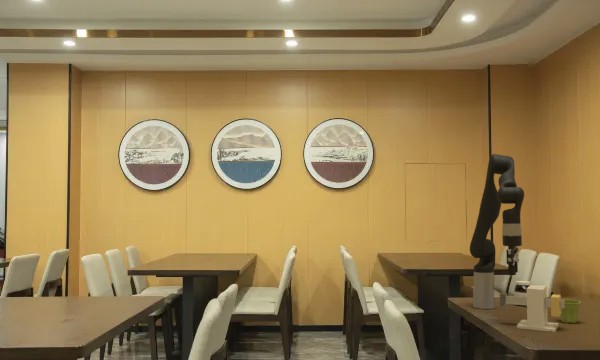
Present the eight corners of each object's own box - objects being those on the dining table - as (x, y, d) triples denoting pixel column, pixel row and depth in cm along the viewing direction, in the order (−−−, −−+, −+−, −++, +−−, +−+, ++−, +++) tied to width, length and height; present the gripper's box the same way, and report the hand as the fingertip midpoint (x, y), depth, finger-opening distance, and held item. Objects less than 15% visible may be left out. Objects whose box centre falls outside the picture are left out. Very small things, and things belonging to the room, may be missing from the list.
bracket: (516, 328, 213) (515, 287, 214) (521, 322, 224) (520, 284, 225) (555, 332, 206) (553, 290, 207) (558, 325, 217) (557, 286, 218)
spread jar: (518, 302, 271) (517, 279, 272) (541, 305, 264) (541, 281, 265) (512, 306, 261) (511, 282, 262) (536, 308, 255) (535, 284, 255)
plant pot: (571, 325, 218) (571, 303, 219) (551, 320, 227) (551, 300, 227) (586, 322, 223) (585, 301, 223) (566, 318, 231) (565, 298, 231)
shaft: (500, 306, 221) (499, 294, 221) (502, 304, 225) (501, 292, 225) (564, 311, 208) (563, 298, 209) (565, 309, 213) (564, 296, 213)
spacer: (551, 316, 210) (550, 296, 210) (553, 312, 216) (552, 294, 216) (559, 316, 208) (559, 297, 208) (561, 313, 214) (560, 294, 215)
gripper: (505, 233, 230) (506, 271, 229) (499, 235, 218) (500, 274, 217) (524, 234, 226) (525, 272, 225) (518, 235, 214) (520, 275, 213)
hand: (513, 273), depth 221 cm, fingers open, 8 cm apart
